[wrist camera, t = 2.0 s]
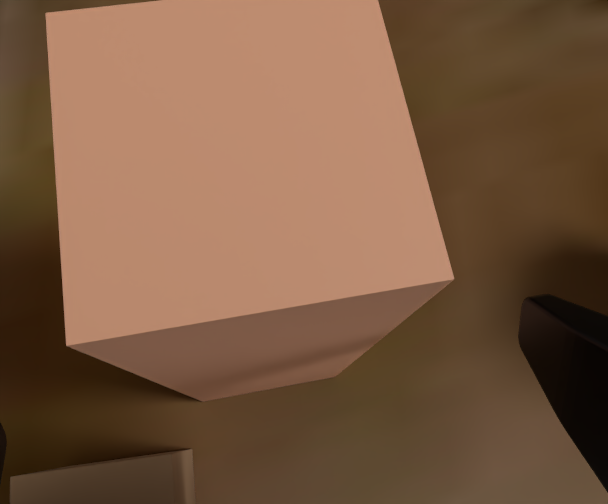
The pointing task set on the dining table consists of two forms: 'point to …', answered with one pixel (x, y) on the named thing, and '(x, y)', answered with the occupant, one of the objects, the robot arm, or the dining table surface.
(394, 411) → the dining table surface
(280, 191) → the terracotta column
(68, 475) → the walnut cube
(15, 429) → the dining table surface
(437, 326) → the dining table surface
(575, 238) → the dining table surface
